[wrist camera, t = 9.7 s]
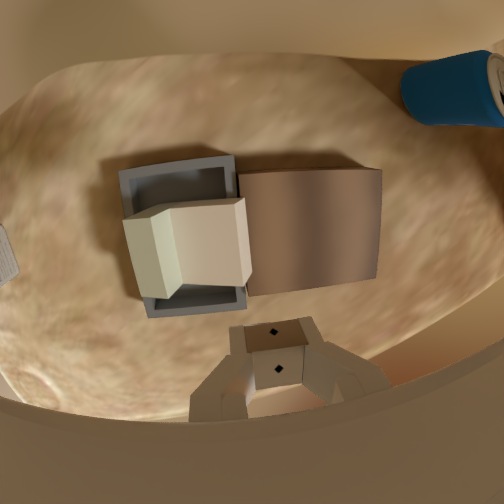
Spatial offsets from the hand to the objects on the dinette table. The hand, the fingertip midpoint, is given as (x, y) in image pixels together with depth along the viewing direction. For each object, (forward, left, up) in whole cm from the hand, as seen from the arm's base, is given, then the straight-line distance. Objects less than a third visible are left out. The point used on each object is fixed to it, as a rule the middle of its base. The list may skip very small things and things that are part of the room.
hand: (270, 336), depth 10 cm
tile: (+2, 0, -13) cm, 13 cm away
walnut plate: (-6, 0, -16) cm, 17 cm away
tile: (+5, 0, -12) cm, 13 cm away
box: (+5, 0, -16) cm, 16 cm away
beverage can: (-20, -13, -16) cm, 28 cm away
